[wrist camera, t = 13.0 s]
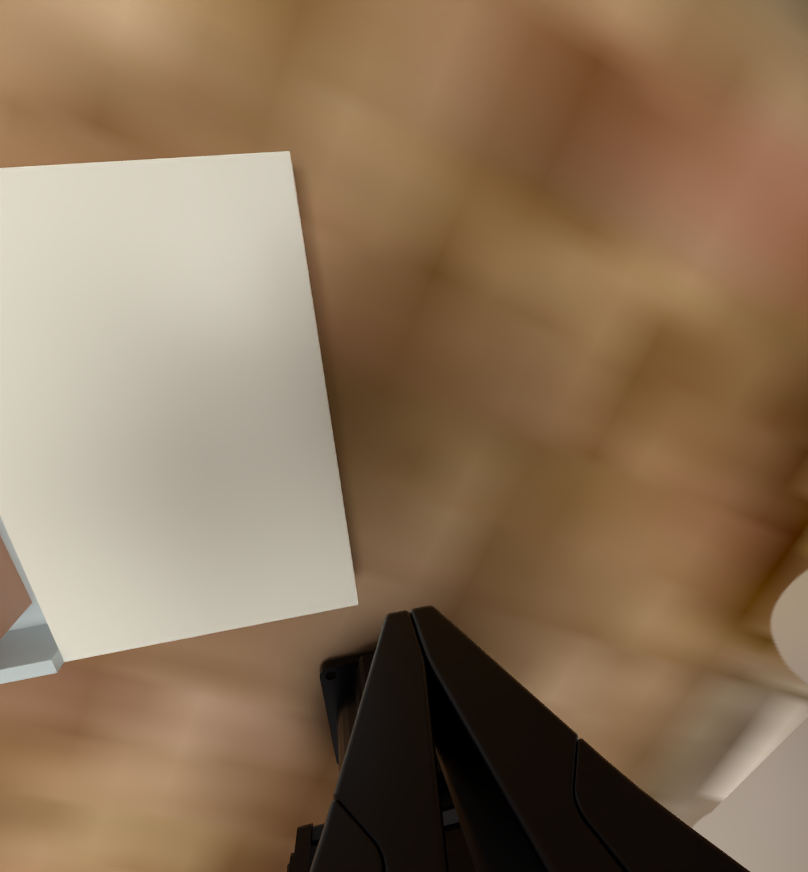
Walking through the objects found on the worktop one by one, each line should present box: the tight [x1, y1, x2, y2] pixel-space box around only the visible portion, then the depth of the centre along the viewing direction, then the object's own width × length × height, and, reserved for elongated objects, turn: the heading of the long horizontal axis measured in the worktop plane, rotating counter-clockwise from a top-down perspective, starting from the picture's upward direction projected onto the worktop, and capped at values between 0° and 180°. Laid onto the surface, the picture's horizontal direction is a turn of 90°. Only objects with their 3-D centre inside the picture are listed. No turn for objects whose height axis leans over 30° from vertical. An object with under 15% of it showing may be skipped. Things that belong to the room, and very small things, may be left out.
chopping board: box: [0, 151, 358, 662], centre depth 16 cm, size 16×11×2 cm
